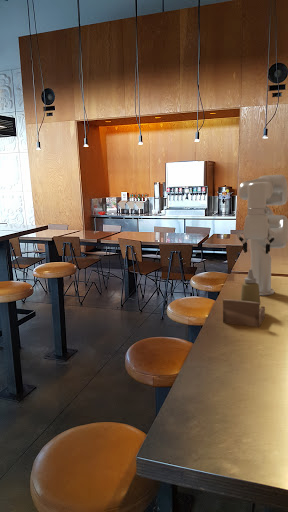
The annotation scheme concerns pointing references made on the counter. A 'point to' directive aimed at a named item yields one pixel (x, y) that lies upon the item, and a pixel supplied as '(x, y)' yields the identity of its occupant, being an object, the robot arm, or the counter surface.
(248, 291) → the squeeze bottle
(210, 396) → the counter surface
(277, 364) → the counter surface
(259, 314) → the walnut holder
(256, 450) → the counter surface
